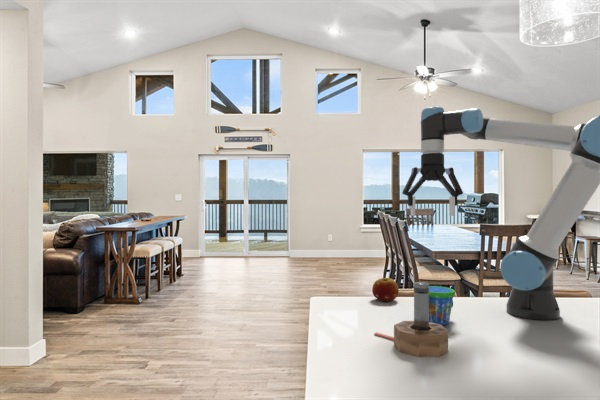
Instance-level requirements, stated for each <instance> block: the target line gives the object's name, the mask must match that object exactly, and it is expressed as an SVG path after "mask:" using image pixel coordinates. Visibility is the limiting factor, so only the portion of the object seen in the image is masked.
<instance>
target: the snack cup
mask: <svg viewBox="0 0 600 400" xmlns="http://www.w3.org/2000/svg"><path fill="white" fill-rule="evenodd" d="M455 296H456V291H455V290H454V289H453V288H450V287H446V286H439V285H429V322H431V323H436V324H440V325H442V326H445V325H448V324H449V323H450V319H451V314H452V308H453V307H454V300H453V298H454V297H455Z"/></svg>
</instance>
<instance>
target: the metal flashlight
mask: <svg viewBox="0 0 600 400" xmlns="http://www.w3.org/2000/svg"><path fill="white" fill-rule="evenodd" d="M429 286H430V283H428V282H424V281H415V282H414V283H413V321H414V330H419V331H428V330H429Z"/></svg>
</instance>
